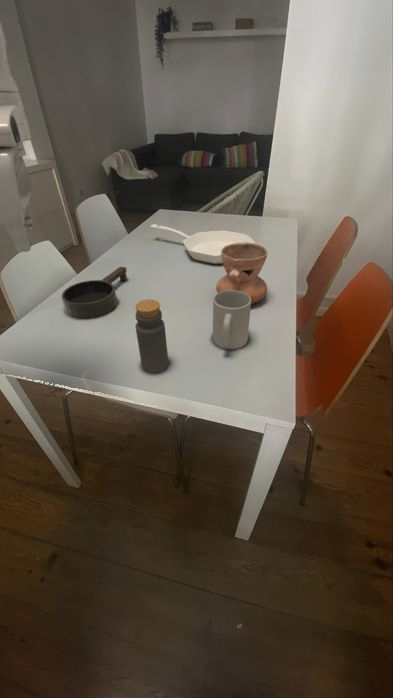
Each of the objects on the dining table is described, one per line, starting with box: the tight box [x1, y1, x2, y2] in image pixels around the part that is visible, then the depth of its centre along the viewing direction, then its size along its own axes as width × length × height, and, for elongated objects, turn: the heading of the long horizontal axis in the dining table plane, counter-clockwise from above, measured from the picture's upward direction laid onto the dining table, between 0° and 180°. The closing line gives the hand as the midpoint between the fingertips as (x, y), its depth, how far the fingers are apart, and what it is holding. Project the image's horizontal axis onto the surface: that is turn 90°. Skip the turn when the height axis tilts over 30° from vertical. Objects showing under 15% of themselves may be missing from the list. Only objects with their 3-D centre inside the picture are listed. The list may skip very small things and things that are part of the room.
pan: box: [149, 223, 257, 265], centre depth 122 cm, size 25×44×6 cm, turn 59°
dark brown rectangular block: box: [100, 266, 128, 284], centre depth 99 cm, size 2×11×4 cm, turn 159°
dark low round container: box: [61, 279, 118, 320], centre depth 90 cm, size 14×14×4 cm
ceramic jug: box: [215, 242, 268, 305], centre depth 89 cm, size 18×14×14 cm
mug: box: [211, 290, 252, 350], centre depth 72 cm, size 12×8×11 cm
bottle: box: [134, 298, 169, 374], centre depth 65 cm, size 6×6×15 cm
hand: (26, 239), depth 47 cm, fingers open, 8 cm apart
